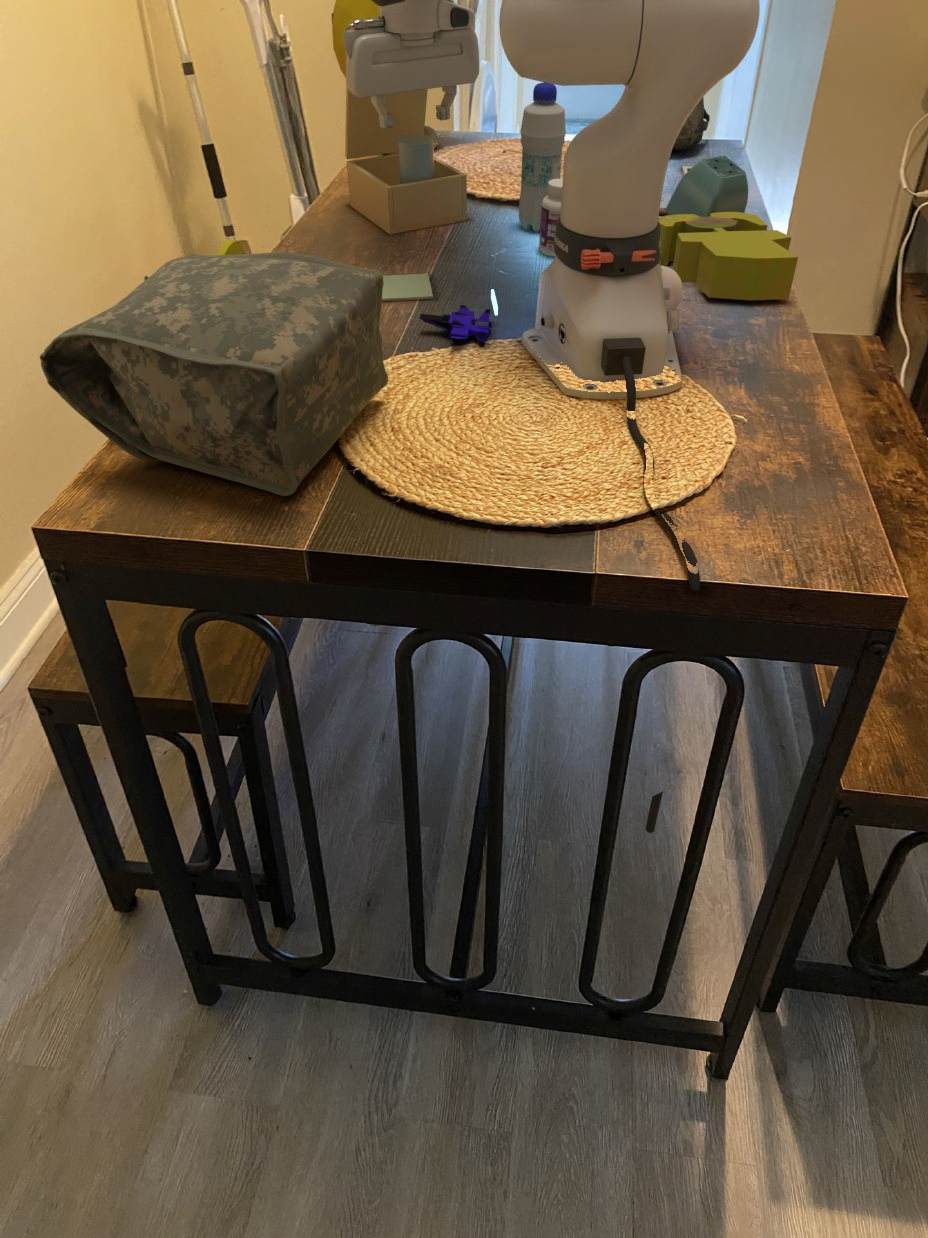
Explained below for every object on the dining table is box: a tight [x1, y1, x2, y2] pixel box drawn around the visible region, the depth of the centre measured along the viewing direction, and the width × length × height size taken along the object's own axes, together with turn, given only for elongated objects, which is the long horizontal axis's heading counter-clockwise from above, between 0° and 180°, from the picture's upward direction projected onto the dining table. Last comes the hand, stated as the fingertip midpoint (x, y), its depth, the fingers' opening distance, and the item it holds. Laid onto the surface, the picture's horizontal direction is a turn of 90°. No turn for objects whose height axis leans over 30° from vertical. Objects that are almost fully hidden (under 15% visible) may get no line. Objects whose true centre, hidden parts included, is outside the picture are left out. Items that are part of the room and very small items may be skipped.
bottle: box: [518, 82, 567, 233], centre depth 137 cm, size 7×7×20 cm
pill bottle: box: [538, 178, 563, 258], centre depth 133 cm, size 5×5×10 cm
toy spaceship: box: [419, 304, 493, 348], centre depth 114 cm, size 10×9×2 cm
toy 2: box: [658, 212, 799, 301], centre depth 126 cm, size 16×6×20 cm
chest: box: [346, 154, 468, 235], centre depth 146 cm, size 16×14×7 cm
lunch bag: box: [39, 251, 389, 497], centre depth 93 cm, size 22×16×27 cm
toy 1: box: [331, 0, 479, 155], centre depth 171 cm, size 27×24×30 cm
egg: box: [661, 266, 683, 311], centre depth 116 cm, size 6×6×8 cm
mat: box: [382, 273, 434, 302], centre depth 125 cm, size 8×10×1 cm
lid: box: [344, 85, 429, 160], centre depth 143 cm, size 16×14×5 cm
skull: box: [672, 96, 711, 151], centre depth 175 cm, size 20×18×20 cm
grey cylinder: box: [398, 135, 435, 184], centre depth 143 cm, size 7×5×11 cm
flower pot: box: [665, 155, 749, 217], centre depth 138 cm, size 9×9×9 cm
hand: (415, 123), depth 137 cm, fingers open, 8 cm apart
